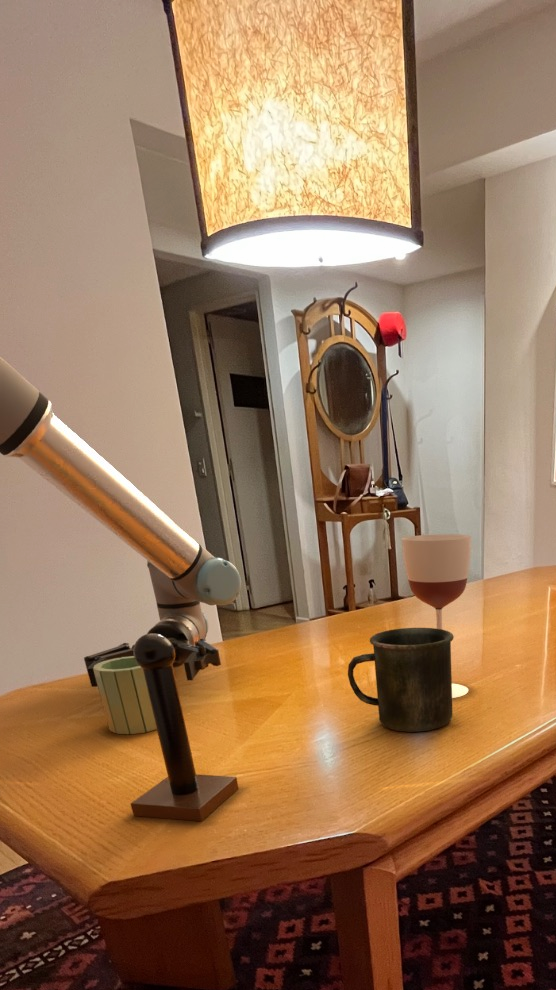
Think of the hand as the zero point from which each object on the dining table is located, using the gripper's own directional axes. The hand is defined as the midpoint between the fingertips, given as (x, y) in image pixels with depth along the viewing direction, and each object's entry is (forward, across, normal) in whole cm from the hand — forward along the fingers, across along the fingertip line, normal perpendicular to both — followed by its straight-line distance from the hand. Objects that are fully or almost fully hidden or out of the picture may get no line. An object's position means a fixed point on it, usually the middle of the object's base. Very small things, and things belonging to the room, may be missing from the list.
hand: (140, 674), depth 99 cm
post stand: (+33, -12, -6) cm, 36 cm away
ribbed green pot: (+5, 0, -6) cm, 8 cm away
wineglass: (-1, -45, -6) cm, 45 cm away
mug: (+13, -38, -6) cm, 40 cm away
